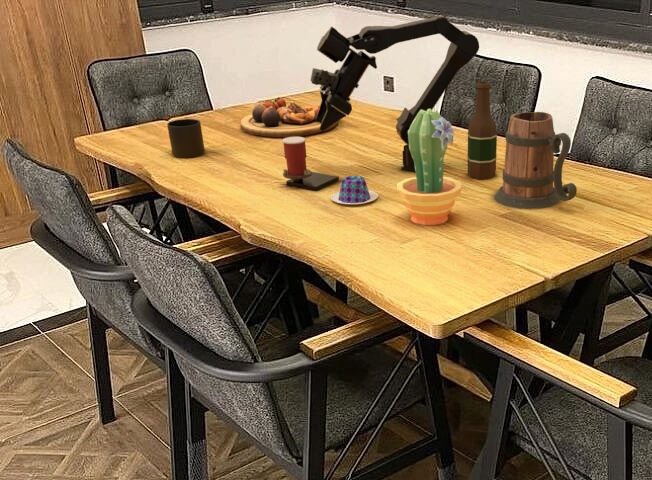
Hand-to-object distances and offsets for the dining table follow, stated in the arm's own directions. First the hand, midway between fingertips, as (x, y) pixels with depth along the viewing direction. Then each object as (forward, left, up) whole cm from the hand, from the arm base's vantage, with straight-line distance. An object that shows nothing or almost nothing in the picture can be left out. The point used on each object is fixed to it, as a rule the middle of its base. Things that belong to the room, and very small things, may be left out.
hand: (319, 125), depth 221 cm
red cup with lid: (+1, +9, -10) cm, 14 cm away
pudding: (-19, +12, -14) cm, 26 cm away
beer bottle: (-38, -21, -14) cm, 45 cm away
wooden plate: (+43, -39, -14) cm, 60 cm away
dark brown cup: (+50, +1, -14) cm, 52 cm away
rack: (-1, +7, -13) cm, 15 cm away
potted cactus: (-43, +15, -14) cm, 47 cm away
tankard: (-60, -9, -14) cm, 62 cm away
